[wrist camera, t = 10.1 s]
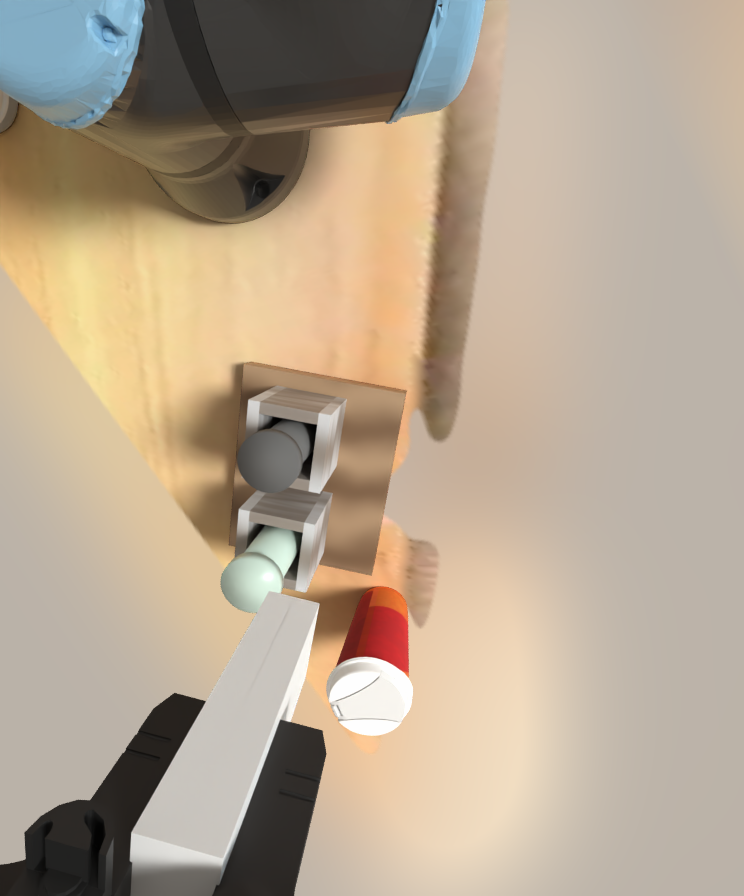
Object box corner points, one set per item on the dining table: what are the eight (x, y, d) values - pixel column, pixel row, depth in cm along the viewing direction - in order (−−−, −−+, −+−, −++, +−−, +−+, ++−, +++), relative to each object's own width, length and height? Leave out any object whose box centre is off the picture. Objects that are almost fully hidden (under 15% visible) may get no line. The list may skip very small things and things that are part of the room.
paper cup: (364, 642, 56) (343, 747, 43) (339, 588, 54) (309, 679, 41) (427, 627, 54) (425, 730, 41) (404, 569, 53) (394, 658, 39)
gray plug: (284, 399, 46) (239, 427, 35) (332, 408, 46) (302, 439, 35) (279, 446, 47) (234, 486, 37) (326, 455, 47) (294, 498, 36)
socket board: (251, 361, 48) (208, 374, 39) (406, 390, 47) (400, 410, 38) (236, 536, 54) (196, 582, 45) (373, 566, 53) (361, 619, 44)
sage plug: (269, 499, 48) (222, 554, 37) (316, 508, 47) (282, 566, 37) (265, 541, 49) (218, 605, 38) (310, 550, 49) (275, 618, 38)
